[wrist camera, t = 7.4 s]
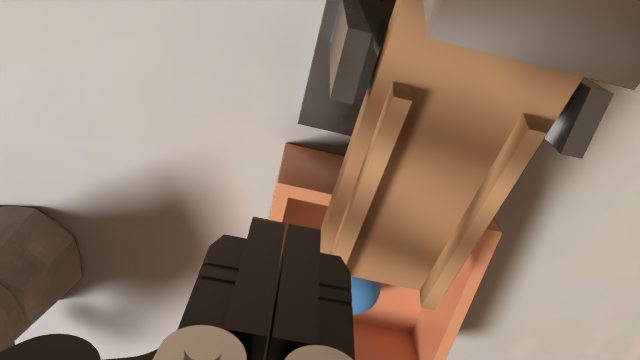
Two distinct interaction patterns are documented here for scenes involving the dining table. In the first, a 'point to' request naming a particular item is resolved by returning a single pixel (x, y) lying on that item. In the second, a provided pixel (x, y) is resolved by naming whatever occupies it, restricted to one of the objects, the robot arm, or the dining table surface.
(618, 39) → the lever
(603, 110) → the lever stand
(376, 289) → the ball
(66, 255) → the coffeepot
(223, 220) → the dining table surface
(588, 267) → the dining table surface
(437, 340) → the cup
